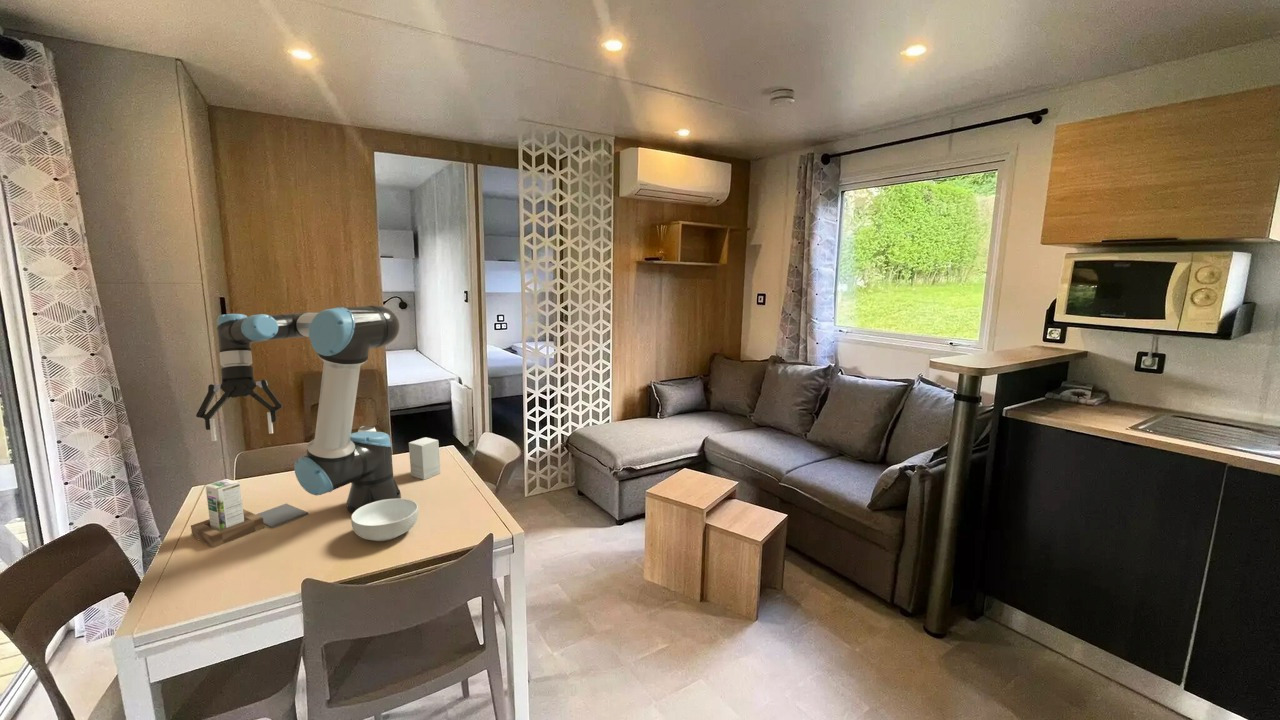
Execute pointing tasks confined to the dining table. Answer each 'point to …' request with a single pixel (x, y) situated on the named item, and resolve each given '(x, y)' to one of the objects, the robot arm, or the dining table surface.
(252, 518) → the pocket
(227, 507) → the syrup box
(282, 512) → the mat
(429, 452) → the supplement box
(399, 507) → the cereal bowl
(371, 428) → the can
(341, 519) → the dining table surface
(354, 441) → the robot arm
